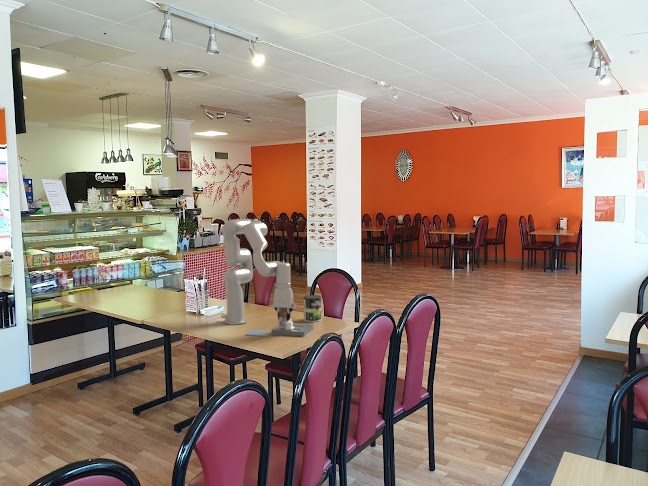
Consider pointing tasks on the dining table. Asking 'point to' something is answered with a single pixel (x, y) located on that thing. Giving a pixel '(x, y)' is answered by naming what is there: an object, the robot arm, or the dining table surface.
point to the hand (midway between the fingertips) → (284, 319)
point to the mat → (257, 332)
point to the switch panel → (297, 331)
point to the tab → (290, 325)
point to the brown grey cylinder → (283, 317)
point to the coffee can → (312, 308)
